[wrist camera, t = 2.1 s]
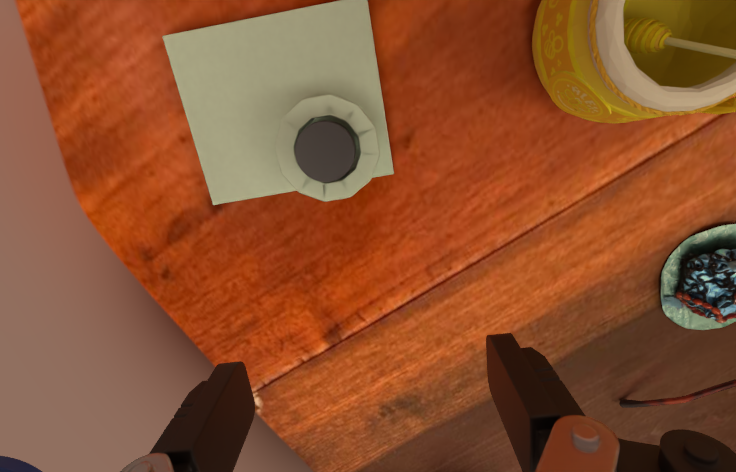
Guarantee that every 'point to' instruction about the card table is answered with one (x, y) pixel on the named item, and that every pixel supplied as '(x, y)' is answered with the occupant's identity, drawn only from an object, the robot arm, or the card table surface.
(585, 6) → the mug
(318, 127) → the button
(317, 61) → the scale
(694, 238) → the dish
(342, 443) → the card table surface
